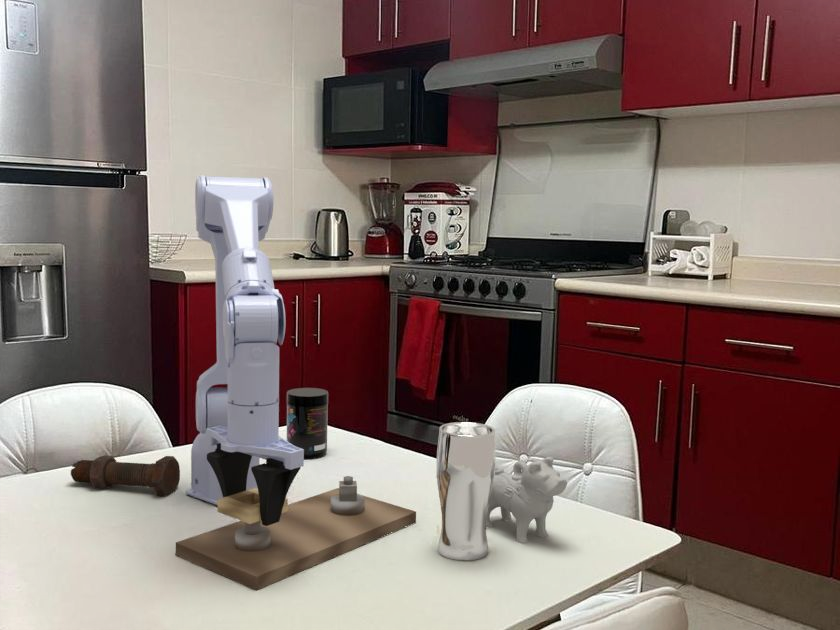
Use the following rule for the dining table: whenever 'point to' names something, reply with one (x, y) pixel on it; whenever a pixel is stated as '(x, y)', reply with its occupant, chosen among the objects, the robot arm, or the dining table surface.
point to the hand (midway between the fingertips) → (252, 516)
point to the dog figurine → (526, 495)
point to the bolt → (129, 474)
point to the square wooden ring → (244, 506)
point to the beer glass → (465, 488)
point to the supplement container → (308, 420)
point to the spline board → (295, 536)
